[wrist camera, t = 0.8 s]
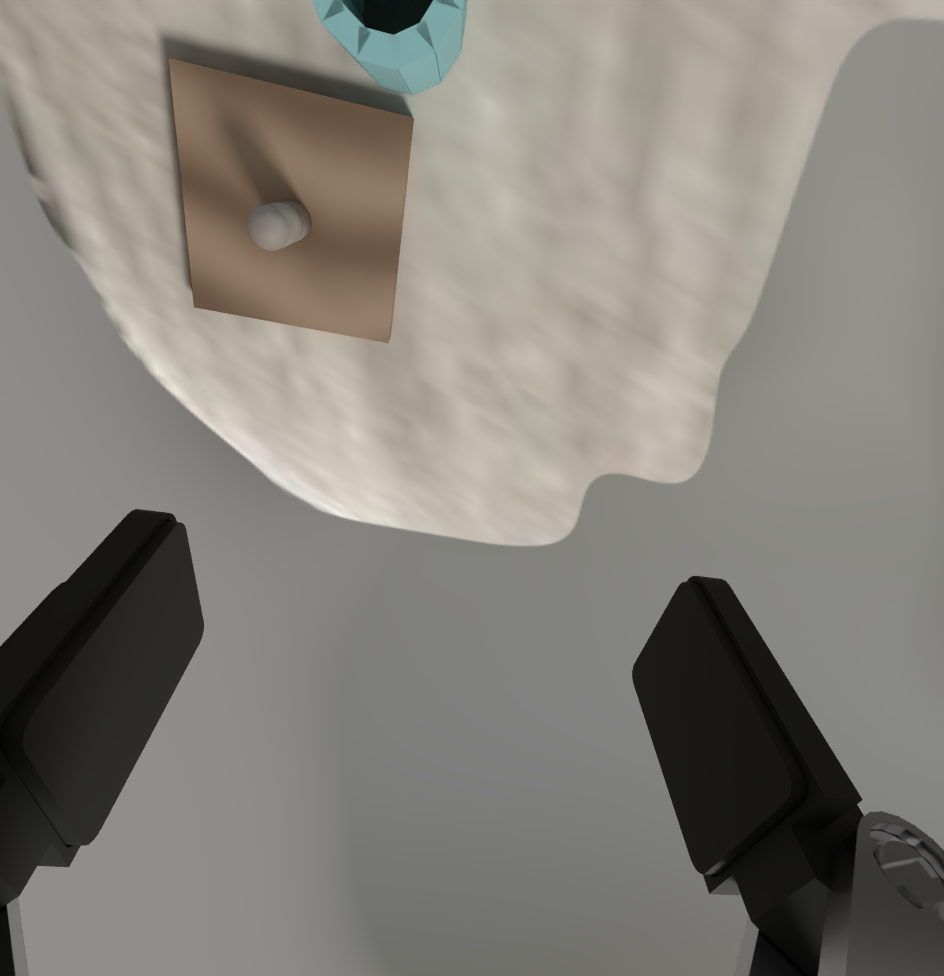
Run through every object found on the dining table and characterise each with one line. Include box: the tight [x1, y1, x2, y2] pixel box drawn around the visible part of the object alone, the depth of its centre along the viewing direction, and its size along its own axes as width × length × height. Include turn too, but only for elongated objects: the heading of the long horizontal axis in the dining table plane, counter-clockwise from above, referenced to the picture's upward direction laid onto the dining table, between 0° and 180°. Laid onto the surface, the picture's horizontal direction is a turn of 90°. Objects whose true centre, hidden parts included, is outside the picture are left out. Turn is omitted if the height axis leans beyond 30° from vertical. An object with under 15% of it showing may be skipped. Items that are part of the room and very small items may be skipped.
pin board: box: [169, 58, 414, 343], centre depth 26 cm, size 12×12×7 cm
